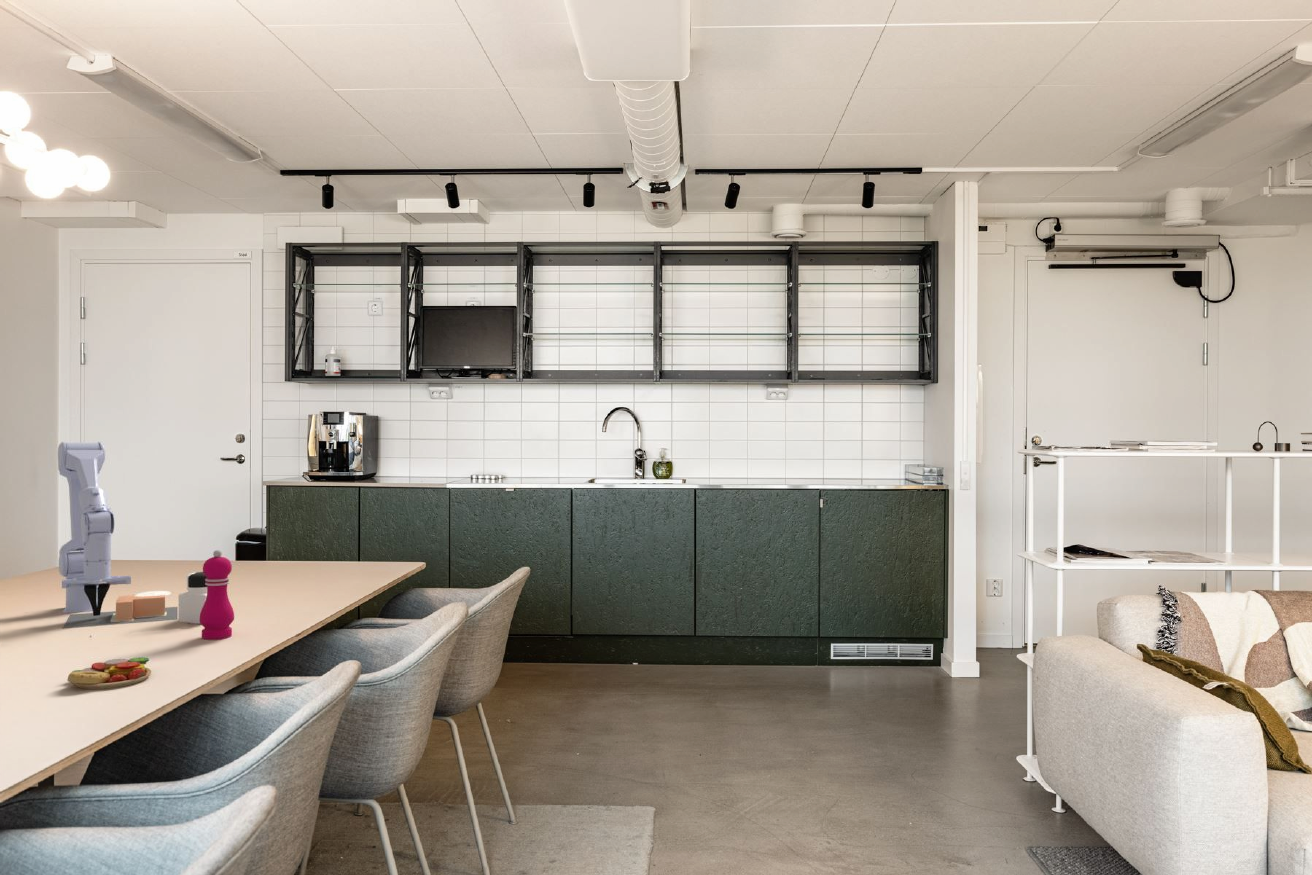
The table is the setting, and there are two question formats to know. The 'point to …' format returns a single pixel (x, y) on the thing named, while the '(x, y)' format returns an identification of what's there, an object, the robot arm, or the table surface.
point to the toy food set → (111, 674)
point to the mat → (110, 618)
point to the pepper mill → (217, 599)
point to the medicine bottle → (193, 598)
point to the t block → (139, 606)
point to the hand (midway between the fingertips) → (96, 614)
